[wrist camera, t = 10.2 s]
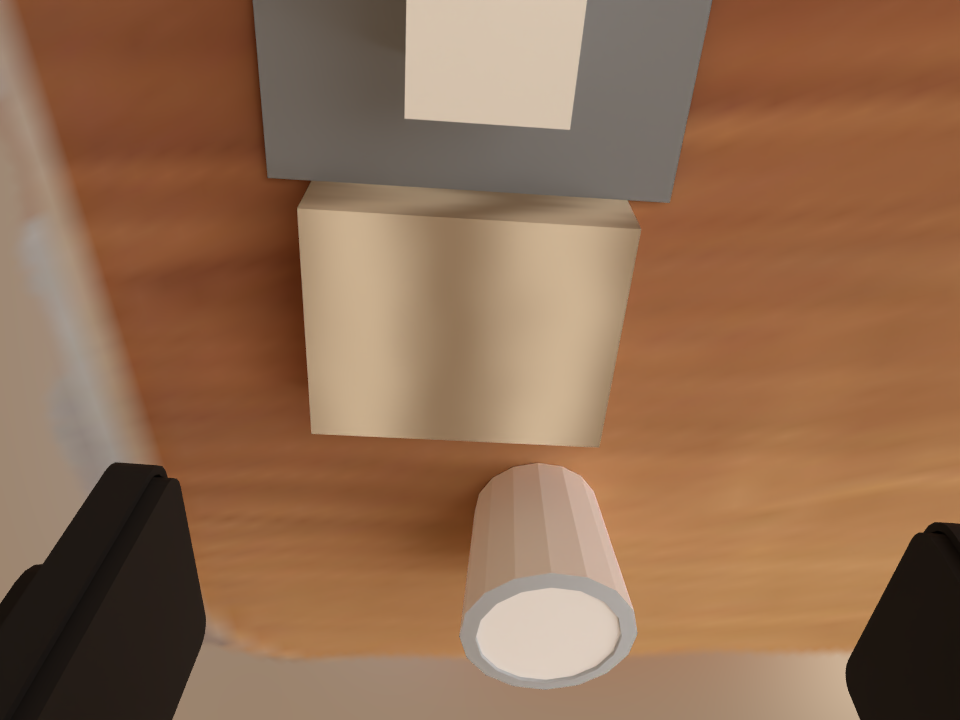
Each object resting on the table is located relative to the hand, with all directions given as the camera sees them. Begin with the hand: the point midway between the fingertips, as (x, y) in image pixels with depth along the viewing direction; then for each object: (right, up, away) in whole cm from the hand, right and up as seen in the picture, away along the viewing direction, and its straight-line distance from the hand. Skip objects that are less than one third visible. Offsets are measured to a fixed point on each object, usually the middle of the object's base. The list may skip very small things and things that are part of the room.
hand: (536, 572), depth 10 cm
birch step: (-1, +5, +19) cm, 20 cm away
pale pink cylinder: (+2, -4, +25) cm, 26 cm away
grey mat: (-1, +13, +14) cm, 19 cm away
